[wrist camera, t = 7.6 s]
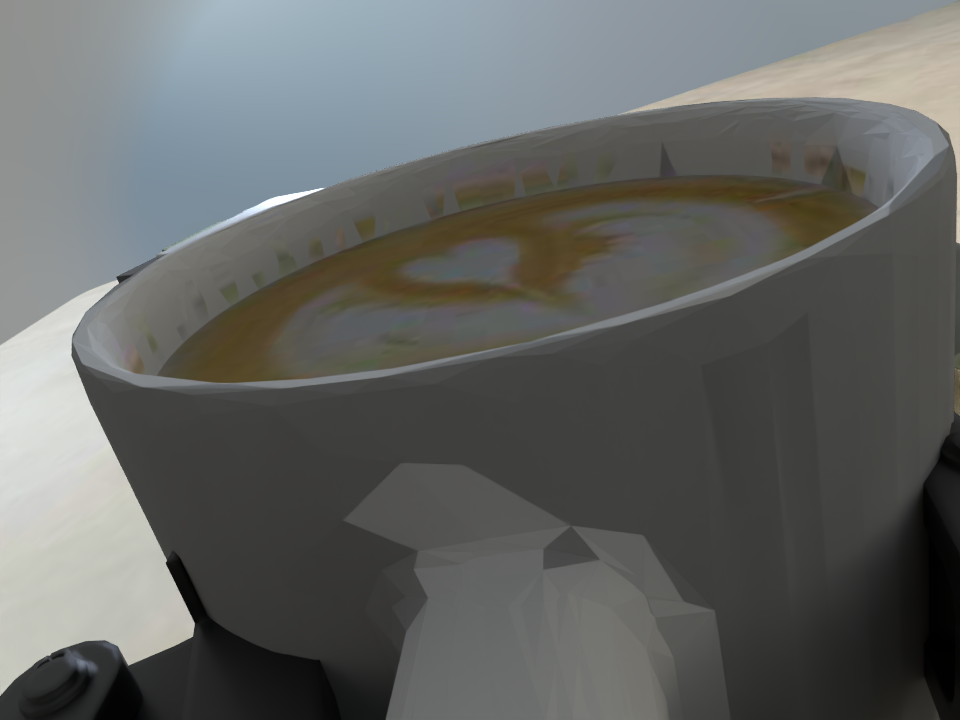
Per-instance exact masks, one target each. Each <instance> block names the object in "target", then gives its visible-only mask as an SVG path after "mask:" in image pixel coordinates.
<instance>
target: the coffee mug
mask: <svg viewBox="0 0 960 720" xmlns="http://www.w3.org/2000/svg"><path fill="white" fill-rule="evenodd" d="M956 209H957V173H956V161H955V155H954V151H953V147H952V144H951V140H950V137H949V133H947V132H946V131H945V130H944V129H943V128H942V127H941V126H940V125H939V124H938V123H936V122H935V121H933V120H932V119H930V118H928V117H926V116H924V115H923V114H921V113H919V112H917V111H914V110H910V109H907V108H903V107H899V106H895V105H891V104H885V103H878V102H870V101H862V100H854V99H846V98H818V97H812V98H765V99H751V100H736V101H722V102H711V103H702V104H692V105H683V106H675V107H668V108H661V109H653V110H646V111H639V112H633V113H627V114H621V115H616V116H610V117H604V118H598V119H593V120H587V121H581V122H575V123H570V124H564V125H559V126H553V127H548V128H544V129H539V130H535V131H530V132H525V133H521V134H516V135H512V136H508V137H503V138H499V139H494V140H490V141H486V142H481V143H477V144H473V145H469V146H465V147H461V148H457V149H454V150H450V151H446V152H442V153H439V154H435V155H431V156H428V157H424V158H420V159H417V160H413V161H409V162H406V163H402V164H398V165H395V166H391V167H389V168H385V169H382V170H378V171H375V172H372V173H369V174H365V175H362V176H359V177H355V178H352V179H349V180H347V181H344V182H341V183H338V184H335V185H333V186H330V187H327V188H324V189H321V190H318V191H315V192H313V193H310V194H307V195H304V196H301V197H298V198H296V199H293V200H290V201H287V202H284V203H281V204H279V205H276V206H273V207H270V208H268V209H265V210H263V211H260V212H258V213H255V214H253V215H251V216H248V217H246V218H243V219H241V220H238V221H236V222H234V223H231V224H229V225H227V226H224V227H222V228H220V229H218V230H216V231H213V232H211V233H209V234H207V235H205V236H203V237H200V238H198V239H196V240H194V241H192V242H190V243H188V244H186V245H184V246H182V247H180V248H178V249H176V250H174V251H172V252H170V253H168V254H166V255H164V256H162V257H161V258H159V259H158V260H156V261H154V262H153V263H151V264H150V265H148V266H147V267H145V268H143V269H142V270H140V271H139V272H137V273H135V274H134V275H132V276H131V277H129V278H128V279H126V280H124V281H123V282H121V283H120V284H118V285H116V286H115V287H114V288H113V289H111V290H110V291H109V292H108V293H107V294H106V295H105V296H104V297H102V298H101V299H100V300H99V301H98V302H97V303H96V304H94V305H93V306H92V307H91V308H90V309H89V310H88V311H87V312H86V313H85V315H84V316H83V318H82V320H81V322H80V323H79V325H78V327H77V329H76V330H75V332H74V334H73V337H72V358H73V360H74V363H75V365H76V368H77V371H78V373H79V376H80V378H81V381H82V383H83V386H84V388H85V391H86V393H87V396H88V398H89V401H90V403H91V405H92V407H93V410H94V412H95V414H96V416H97V418H98V420H99V422H100V424H101V426H102V428H103V430H104V432H105V434H106V436H107V438H108V440H109V442H110V444H111V446H112V448H113V450H114V453H115V455H116V457H117V459H118V461H119V463H120V465H121V467H122V469H123V471H124V473H125V475H126V477H127V479H128V481H129V483H130V485H131V487H132V489H133V491H134V493H135V496H136V498H137V500H138V502H139V504H140V506H141V508H142V510H143V512H144V514H145V516H146V518H147V520H148V522H149V524H150V526H151V528H152V530H153V532H154V534H155V536H156V539H157V541H158V543H159V545H160V547H161V549H162V551H163V553H164V555H165V557H166V559H167V560H168V558H169V556H170V554H171V552H172V550H173V551H174V552H175V553H176V554H177V555H178V556H179V557H180V559H181V561H182V563H183V565H184V568H185V570H186V572H187V574H188V576H189V578H190V580H191V582H192V584H193V586H194V588H195V591H196V593H197V595H198V597H199V599H200V601H201V603H202V605H203V607H204V609H205V611H206V614H207V615H208V616H209V617H210V618H211V619H212V620H214V621H215V622H217V623H218V624H219V625H221V626H222V627H224V628H225V629H226V630H228V631H230V632H232V633H234V634H235V635H237V636H239V637H241V638H243V639H245V640H247V641H249V642H251V643H253V644H255V645H258V646H260V647H263V648H265V649H268V650H270V651H273V652H277V653H282V654H288V655H293V656H298V657H303V658H308V659H314V660H320V662H321V664H322V667H323V669H324V671H325V674H326V676H327V678H328V681H329V683H330V685H331V688H332V690H333V693H334V695H335V697H336V701H337V705H338V708H339V712H340V716H341V720H940V717H939V714H938V712H937V709H936V707H935V704H934V701H933V699H932V696H931V693H930V691H929V688H928V685H927V683H926V680H925V677H924V643H925V642H926V640H927V638H928V636H929V634H930V631H929V534H928V531H927V529H926V527H925V525H924V501H923V483H924V482H925V480H926V479H927V477H928V476H929V474H930V472H931V471H932V469H933V468H934V466H935V465H936V463H937V462H938V460H939V457H940V449H941V447H942V445H943V442H944V440H945V438H946V436H948V435H949V434H950V429H951V424H952V422H954V361H955V285H956Z"/></svg>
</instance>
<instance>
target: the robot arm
mask: <svg viewBox="0 0 960 720" xmlns="http://www.w3.org/2000/svg"><path fill="white" fill-rule="evenodd" d="M923 501H924V525H925V527H926V529H927V531H928V534H929V631H930V634H929V636H928V638H927V640H926V642H925V643H924V677H925V680H926V683H927V685H928V688H929V691H930V693H931V696H932V699H933V701H934V704H935V707H936V709H937V712H938V714H939V717H940V720H960V416H959V415H958V414H956V413H955V412H954V422H952V424H951V429H950V434H949V435H948V436H946V438H945V440H944V442H943V445H942V447H941V449H940V457H939V460H938V462H937V463H936V465H935V466H934V468H933V469H932V471H931V472H930V474H929V476H928V477H927V479H926V480H925V482H924V483H923ZM166 565H167V567H168V569H169V571H170V573H171V575H172V577H173V579H174V581H175V583H176V585H177V587H178V589H179V591H180V593H181V595H182V598H183V600H184V602H185V604H186V606H187V608H188V610H189V612H190V614H191V616H192V618H193V620H194V622H195V628H194V635H193V637H192V638H190V639H188V640H186V641H184V642H182V643H180V644H178V645H176V646H174V647H171V648H169V649H167V650H164V651H162V652H160V653H157V654H155V655H153V656H150V657H148V658H146V659H143V660H141V661H139V662H136V663H134V664H132V665H129V666H128V664H127V662H126V661H125V659H124V657H123V655H122V653H121V652H120V650H119V648H118V646H116V645H114V644H111V643H109V642H107V641H105V640H104V641H85V642H82V643H79V644H76V645H73V646H70V647H66V648H63V649H60V650H58V651H56V652H54V653H52V654H51V655H50V656H46V657H44V658H43V659H41V660H39V661H38V662H36V663H35V664H34V665H33V666H32V667H31V668H29V669H28V670H27V671H26V672H24V673H23V674H22V675H20V676H19V677H18V678H17V679H15V680H14V681H13V683H12V684H11V685H10V686H9V687H8V688H7V689H6V690H5V691H4V693H3V694H2V695H1V696H0V720H341V716H340V712H339V708H338V705H337V701H336V697H335V695H334V693H333V690H332V688H331V685H330V683H329V681H328V678H327V676H326V674H325V671H324V669H323V667H322V664H321V662H320V660H314V659H308V658H303V657H298V656H293V655H288V654H282V653H277V652H273V651H270V650H268V649H265V648H263V647H260V646H258V645H255V644H253V643H251V642H249V641H247V640H245V639H243V638H241V637H239V636H237V635H235V634H234V633H232V632H230V631H228V630H226V629H225V628H224V627H222V626H221V625H219V624H218V623H217V622H215V621H214V620H212V619H211V618H210V617H209V616H208V615H207V614H206V611H205V609H204V607H203V605H202V603H201V601H200V599H199V597H198V595H197V593H196V591H195V588H194V586H193V584H192V582H191V580H190V578H189V576H188V574H187V572H186V570H185V568H184V565H183V563H182V561H181V559H180V557H179V556H178V555H177V554H176V553H175V552H174V551H173V550H172V552H171V554H170V556H169V558H168V560H167V562H166Z"/></svg>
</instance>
